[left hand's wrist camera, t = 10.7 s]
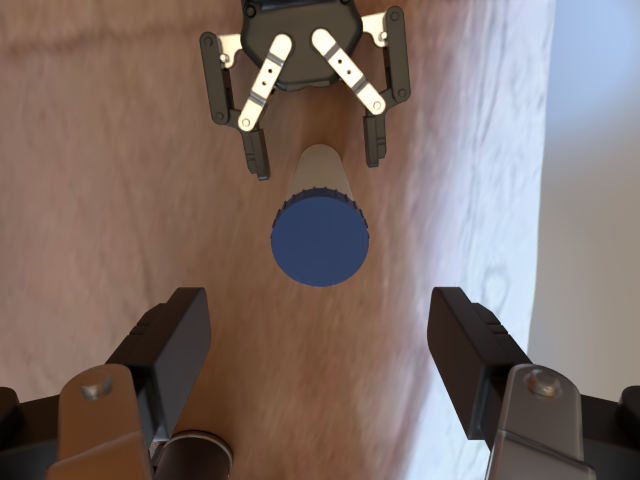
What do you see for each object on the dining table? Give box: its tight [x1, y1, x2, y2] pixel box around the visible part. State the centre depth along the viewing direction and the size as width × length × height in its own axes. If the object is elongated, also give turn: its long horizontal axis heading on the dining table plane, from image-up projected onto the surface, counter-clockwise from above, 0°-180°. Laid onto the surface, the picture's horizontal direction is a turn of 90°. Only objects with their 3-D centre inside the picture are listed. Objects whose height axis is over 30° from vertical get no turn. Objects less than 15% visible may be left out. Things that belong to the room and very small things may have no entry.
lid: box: [271, 187, 369, 287], centre depth 18 cm, size 5×5×2 cm
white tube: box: [286, 144, 354, 201], centre depth 26 cm, size 4×4×19 cm
